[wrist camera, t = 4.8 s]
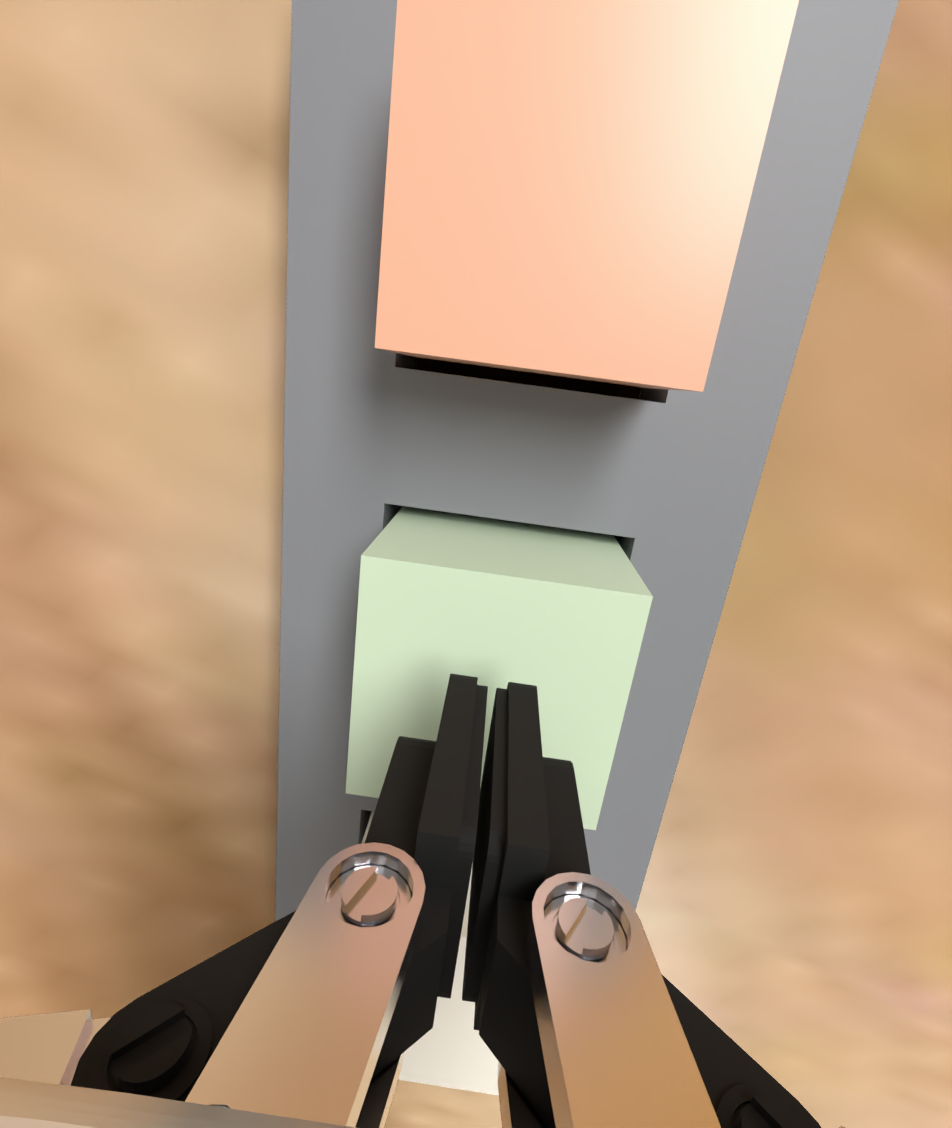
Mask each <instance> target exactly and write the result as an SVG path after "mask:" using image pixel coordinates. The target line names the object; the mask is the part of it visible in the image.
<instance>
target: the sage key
mask: <svg viewBox="0 0 952 1128" xmlns="http://www.w3.org/2000/svg"><path fill="white" fill-rule="evenodd" d="M652 599H653V596H652V594H651V593H650V591H649V590H648V588H647V586H646V585H645V583H644V582H643V580H642V579H641V577H640V576H639V574H638V573H637V571H636V569H635V568H634V566H633V565H632V563H631V562H630V560H629V559H628V557H627V556H626V554H625V553H624V551H623V549H622V548H621V546H620V545H619V543H618V542H617V540H616V539H615V537H614V536H613V535H609V534H602V533H594V532H587V531H580V530H573V529H566V528H558V527H551V526H544V525H537V524H530V523H522V522H515V521H508V520H501V519H493V518H486V517H479V516H472V515H465V514H457V513H450V512H443V511H436V510H429V509H421V508H414V507H407V506H403V507H402V508H401V509H400V511H399V512H398V513H397V514H396V515H395V516H394V518H393V519H392V520H391V521H390V522H389V523H388V525H387V526H386V527H385V528H384V529H383V530H382V532H381V533H380V534H379V535H378V536H377V537H376V539H375V540H374V541H373V542H372V543H371V544H370V546H369V547H368V548H367V549H366V550H365V551H364V553H363V554H362V555H361V564H360V579H359V594H358V610H357V625H356V640H355V656H354V671H353V686H352V702H351V717H350V732H349V748H348V763H347V778H346V793H347V794H354V795H361V796H367V797H374V798H379V796H380V793H381V790H382V786H383V783H384V780H385V777H386V774H387V771H388V767H389V764H390V761H391V758H392V755H393V752H394V748H395V745H396V742H397V740H398V737H399V736H403V737H410V738H417V739H424V740H431V741H436V740H437V735H438V730H439V726H440V721H441V716H442V711H443V706H444V701H445V697H446V692H447V687H448V682H449V677H450V674H458V675H465V676H472V677H478V681H477V685H482V686H488V692H487V705H486V718H485V731H484V745H483V758H482V771H481V781H482V775H483V769H484V762H485V756H486V750H487V743H488V737H489V731H490V725H491V718H492V712H493V706H494V699H495V693H496V688H503V689H507V685H508V682H514V683H521V684H528V685H535V686H537V694H538V706H539V718H540V731H541V743H542V755H543V757H548V758H554V759H561V760H568V761H571V762H572V763H573V767H574V772H575V778H576V784H577V791H578V797H579V803H580V809H581V816H582V822H583V828H584V829H590V830H596V827H597V823H598V819H599V815H600V811H601V807H602V803H603V799H604V794H605V790H606V786H607V782H608V778H609V774H610V770H611V766H612V762H613V758H614V754H615V750H616V745H617V741H618V737H619V733H620V729H621V725H622V721H623V717H624V713H625V709H626V705H627V701H628V696H629V692H630V688H631V684H632V680H633V676H634V672H635V668H636V664H637V660H638V656H639V652H640V648H641V643H642V639H643V635H644V631H645V627H646V623H647V619H648V615H649V611H650V607H651V603H652ZM480 788H481V784H480Z"/></svg>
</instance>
